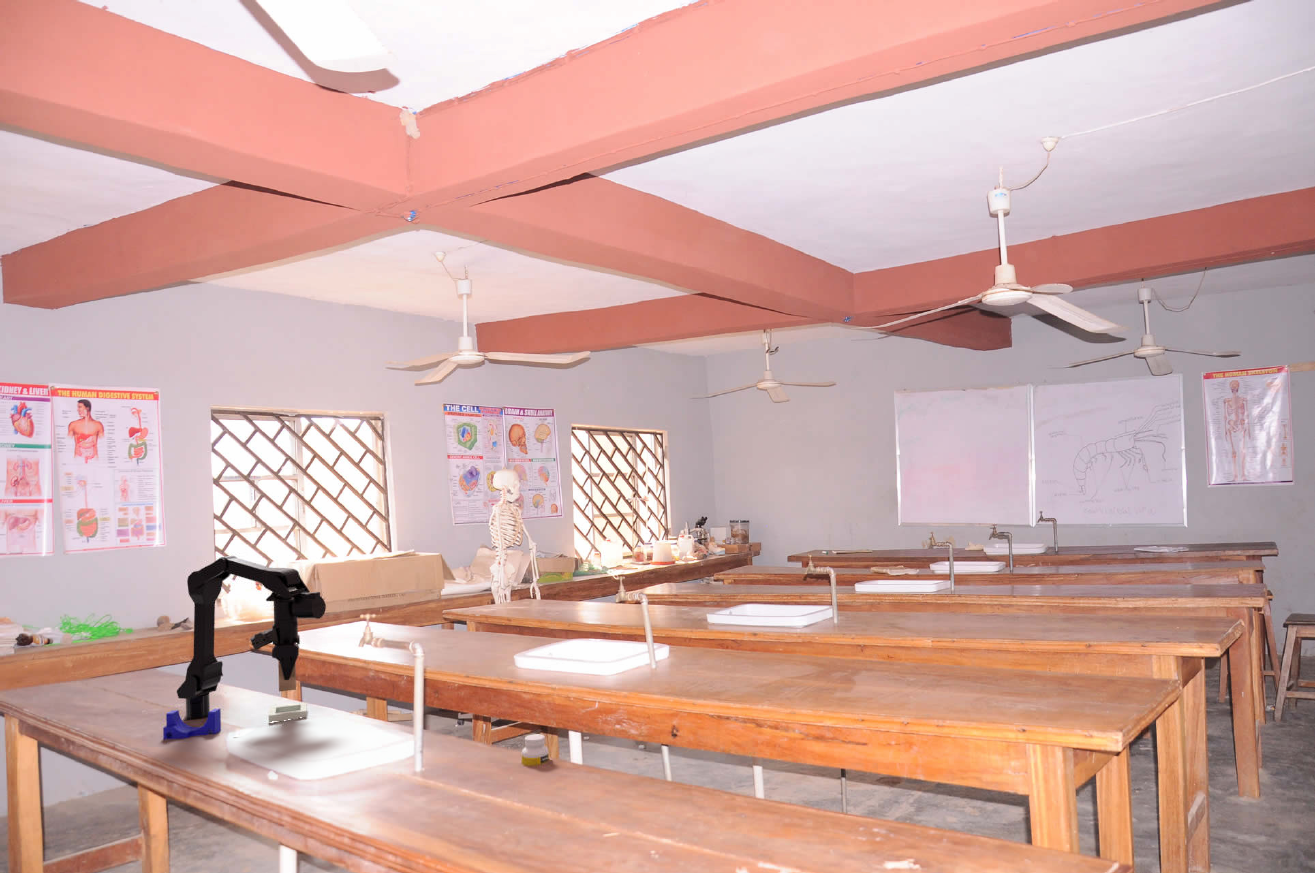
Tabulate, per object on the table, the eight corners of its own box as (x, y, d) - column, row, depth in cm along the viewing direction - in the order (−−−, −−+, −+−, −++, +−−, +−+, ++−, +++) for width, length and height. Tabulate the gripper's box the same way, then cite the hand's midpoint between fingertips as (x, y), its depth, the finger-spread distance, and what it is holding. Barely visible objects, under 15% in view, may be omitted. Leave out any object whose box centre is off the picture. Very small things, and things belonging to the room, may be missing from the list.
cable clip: (163, 739, 223) (162, 715, 223) (173, 734, 227) (172, 710, 228) (212, 737, 223) (211, 713, 223) (220, 732, 227) (220, 708, 228)
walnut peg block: (279, 687, 237) (279, 661, 237) (296, 686, 238) (295, 659, 238) (279, 691, 233) (278, 664, 233) (295, 689, 234) (295, 662, 235)
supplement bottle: (544, 791, 178) (542, 741, 178) (518, 790, 179) (516, 740, 179) (553, 781, 183) (551, 733, 184) (527, 780, 185) (526, 732, 185)
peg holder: (270, 718, 238) (270, 706, 238) (307, 713, 241) (306, 702, 241) (268, 727, 230) (268, 715, 230) (306, 722, 233) (306, 710, 233)
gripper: (254, 615, 242) (255, 674, 242) (249, 626, 224) (250, 690, 224) (299, 611, 246) (300, 669, 246) (297, 622, 228) (299, 684, 228)
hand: (287, 678), depth 236 cm, fingers closed on walnut peg block, 4 cm apart
